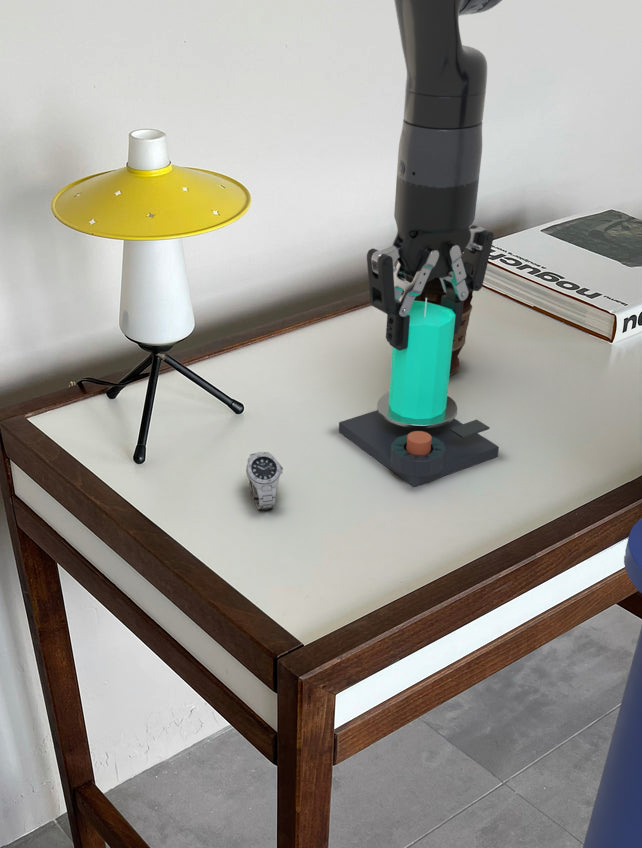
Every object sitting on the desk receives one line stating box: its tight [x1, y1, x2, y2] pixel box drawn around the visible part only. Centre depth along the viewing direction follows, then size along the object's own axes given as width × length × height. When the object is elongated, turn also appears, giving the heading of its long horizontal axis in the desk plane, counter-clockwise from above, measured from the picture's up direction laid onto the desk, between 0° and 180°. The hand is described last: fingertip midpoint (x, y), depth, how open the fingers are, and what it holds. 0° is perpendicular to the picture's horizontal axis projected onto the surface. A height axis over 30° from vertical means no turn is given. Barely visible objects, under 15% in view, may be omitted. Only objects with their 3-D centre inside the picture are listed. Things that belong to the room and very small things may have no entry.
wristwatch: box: [245, 451, 284, 511], centre depth 97 cm, size 4×6×5 cm, turn 12°
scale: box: [338, 409, 500, 488], centre depth 106 cm, size 14×12×3 cm
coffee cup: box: [406, 256, 474, 377], centre depth 118 cm, size 9×8×13 cm
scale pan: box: [376, 390, 491, 438], centre depth 106 cm, size 12×8×1 cm
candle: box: [388, 298, 456, 419], centre depth 103 cm, size 6×6×12 cm
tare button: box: [406, 431, 432, 455], centre depth 100 cm, size 2×2×2 cm
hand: (423, 339), depth 102 cm, fingers closed on candle, 6 cm apart
